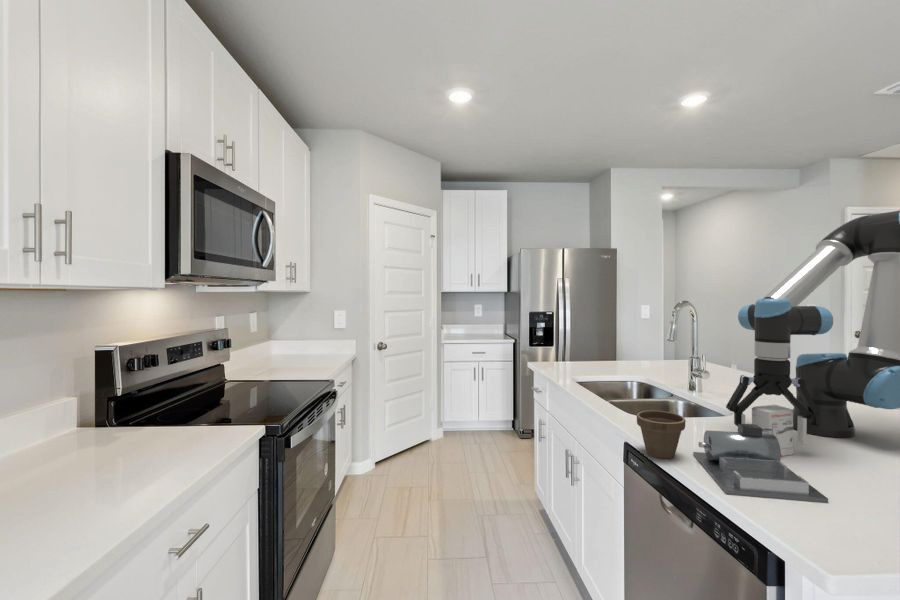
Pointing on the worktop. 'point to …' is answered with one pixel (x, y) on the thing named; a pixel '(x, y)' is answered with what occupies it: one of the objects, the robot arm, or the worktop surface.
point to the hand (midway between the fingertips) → (771, 440)
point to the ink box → (776, 424)
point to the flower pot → (660, 432)
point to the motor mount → (752, 465)
